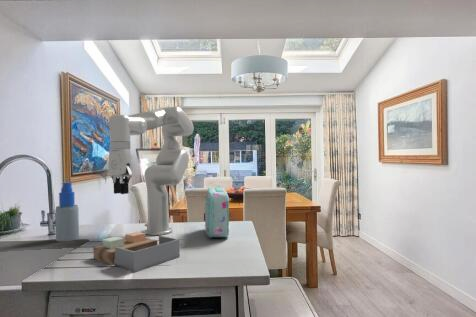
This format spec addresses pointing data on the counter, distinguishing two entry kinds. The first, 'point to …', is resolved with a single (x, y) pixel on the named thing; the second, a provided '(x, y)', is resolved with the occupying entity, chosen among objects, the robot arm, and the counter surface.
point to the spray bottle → (67, 215)
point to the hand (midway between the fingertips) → (121, 193)
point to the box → (147, 255)
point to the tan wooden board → (109, 254)
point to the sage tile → (113, 242)
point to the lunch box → (216, 212)
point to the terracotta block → (135, 237)
